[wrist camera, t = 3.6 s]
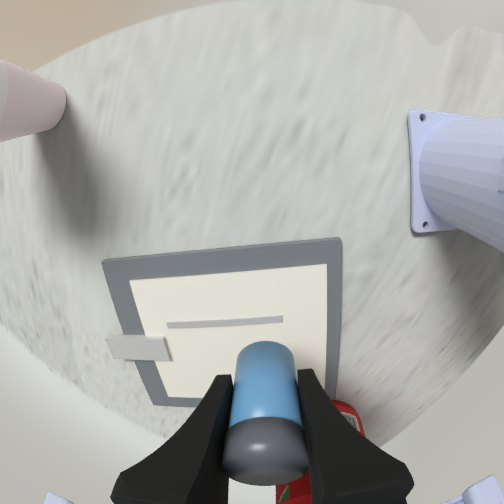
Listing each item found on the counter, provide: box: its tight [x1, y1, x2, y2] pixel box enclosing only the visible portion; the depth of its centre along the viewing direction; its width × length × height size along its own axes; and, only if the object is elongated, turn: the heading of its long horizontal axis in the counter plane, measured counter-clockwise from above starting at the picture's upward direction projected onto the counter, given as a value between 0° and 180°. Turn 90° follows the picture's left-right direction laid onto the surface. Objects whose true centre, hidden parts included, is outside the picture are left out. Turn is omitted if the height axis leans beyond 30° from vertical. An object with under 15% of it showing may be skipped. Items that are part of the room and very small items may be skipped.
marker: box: [222, 341, 310, 486], centre depth 11 cm, size 3×3×6 cm
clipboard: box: [101, 237, 342, 407], centre depth 21 cm, size 18×14×1 cm
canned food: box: [276, 400, 365, 504], centre depth 19 cm, size 8×8×11 cm
